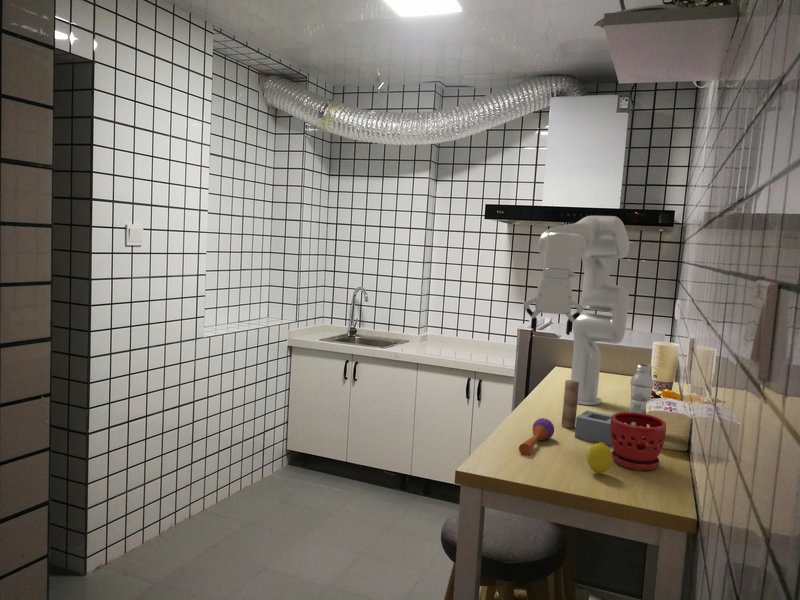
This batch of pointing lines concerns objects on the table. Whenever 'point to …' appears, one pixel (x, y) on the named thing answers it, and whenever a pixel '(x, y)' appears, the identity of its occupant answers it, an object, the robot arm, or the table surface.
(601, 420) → the socket
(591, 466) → the lemon
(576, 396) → the peg
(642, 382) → the plastic bottle
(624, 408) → the table surface
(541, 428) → the purple maraca
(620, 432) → the plant pot
